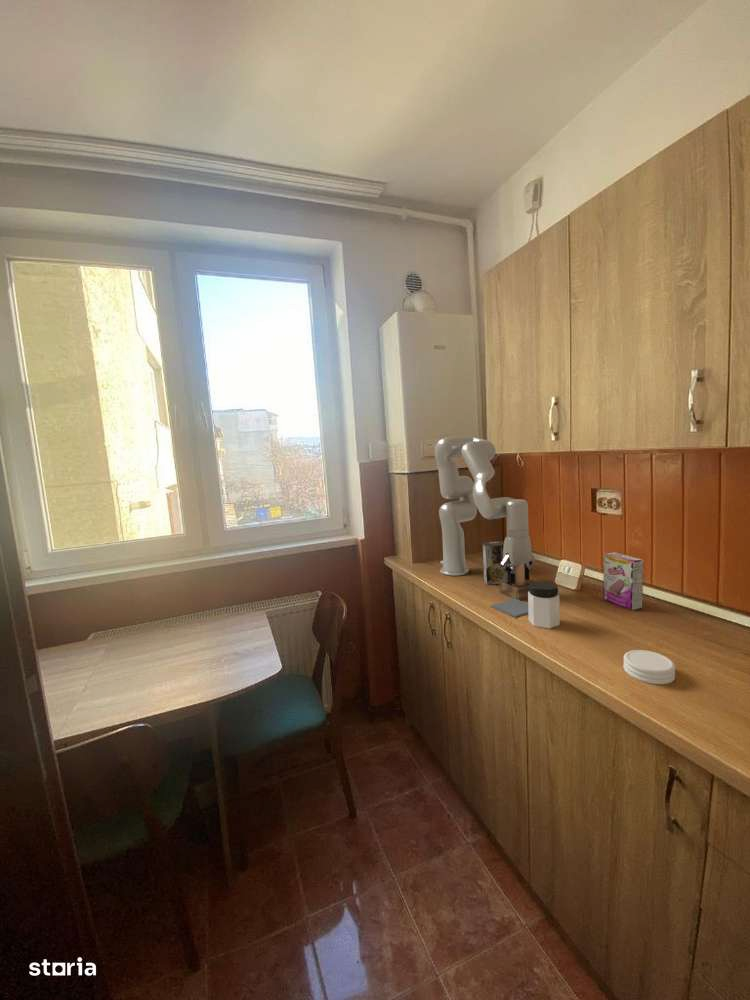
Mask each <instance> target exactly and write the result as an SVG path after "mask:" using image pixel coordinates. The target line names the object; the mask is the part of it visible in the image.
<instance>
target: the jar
mask: <svg viewBox="0 0 750 1000" xmlns="http://www.w3.org/2000/svg"><path fill="white" fill-rule="evenodd" d="M530 582H531V583H530V584H529V592H528V598H527V601H528V602H527V604H528V621H529V622H530V624H532V626H533V627H537V628H543V629H549V630H550V629H552V628H555V627H558V626H560V625H561V622H560V615H561V614H560V594H559V587H558V585H557V583H554V582H552V581H551V582H550V581H547V580H546V581H545V580H539V581H538V580H536V581H530Z"/></svg>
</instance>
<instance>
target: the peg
mask: <svg viewBox="0 0 750 1000" xmlns="http://www.w3.org/2000/svg"><path fill="white" fill-rule="evenodd" d="M513 573H515V584H512V586H514V587H517V588H521V587H524V586H525V580H526V579H525V566H524V562H523V561H522V562H521V564H519V565H516V566H515V569H514V572H513Z"/></svg>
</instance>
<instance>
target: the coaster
mask: <svg viewBox="0 0 750 1000" xmlns="http://www.w3.org/2000/svg"><path fill="white" fill-rule="evenodd" d="M623 670H624V671H625V672H626V674H627V675H629V677H632V678H634V679H636V680H638V681H640V682H643V683H646V684H647V683H648V684H651V685H668V684H671V683H673V682H674V680H675V678H676V675H675V674H676V671H675V670H676V665H675V663H674V662H673V661H672V660H671V659H670V658H669V657H667V656H665V655H663V654H661V653H658V652H655V651H651V650H643V649H634V650H633V649H632V650H629V651H627V652H625V654H624V655H623Z"/></svg>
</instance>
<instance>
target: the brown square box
mask: <svg viewBox="0 0 750 1000" xmlns="http://www.w3.org/2000/svg"><path fill="white" fill-rule="evenodd" d="M531 582H532V581H530V580H526V579H525V586H524V587H521V588H517V587H514V586H512V583H509V582H508V581H504V582H501V583H500V584H499V593H500V594H501V595H504V596H506V597H509V598H512V599H514V598H515V599H517V600H520V601H523V600H525V599H528V592H529V584H530V583H531Z"/></svg>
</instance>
